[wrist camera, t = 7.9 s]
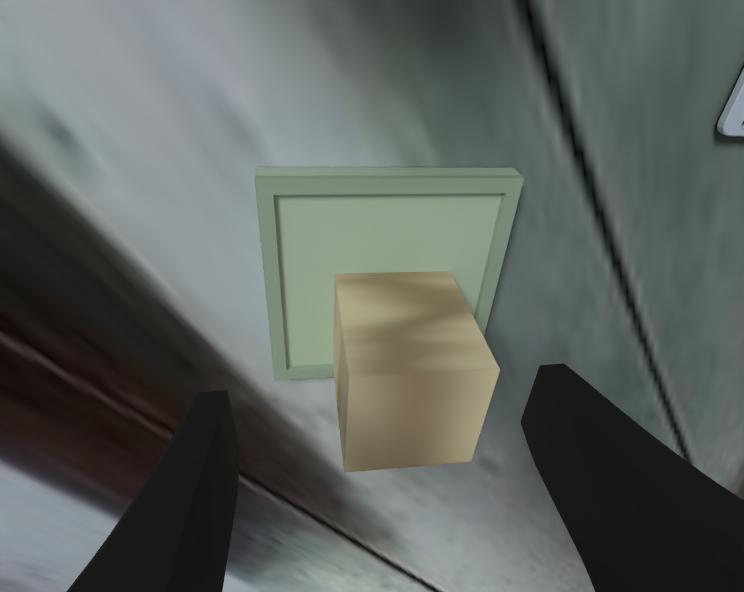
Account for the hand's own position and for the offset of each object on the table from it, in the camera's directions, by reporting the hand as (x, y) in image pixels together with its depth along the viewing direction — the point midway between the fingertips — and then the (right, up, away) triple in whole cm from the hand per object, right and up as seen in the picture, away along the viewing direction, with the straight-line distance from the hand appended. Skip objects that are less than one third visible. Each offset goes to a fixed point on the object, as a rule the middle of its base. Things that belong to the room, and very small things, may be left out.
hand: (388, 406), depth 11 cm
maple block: (0, +2, +10) cm, 10 cm away
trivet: (0, +3, +10) cm, 10 cm away
